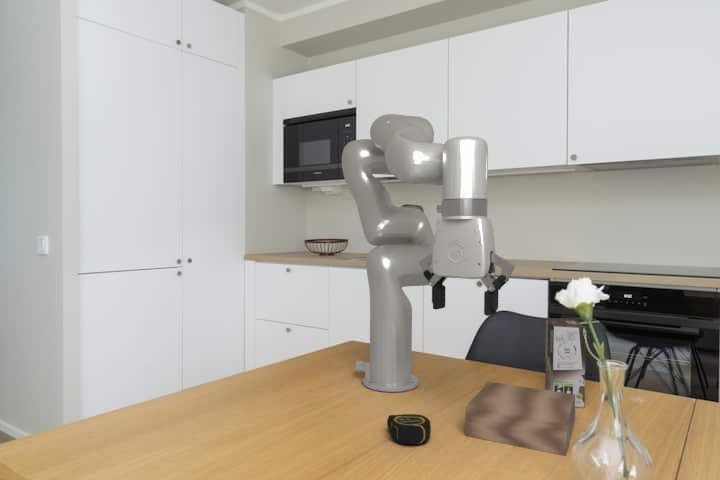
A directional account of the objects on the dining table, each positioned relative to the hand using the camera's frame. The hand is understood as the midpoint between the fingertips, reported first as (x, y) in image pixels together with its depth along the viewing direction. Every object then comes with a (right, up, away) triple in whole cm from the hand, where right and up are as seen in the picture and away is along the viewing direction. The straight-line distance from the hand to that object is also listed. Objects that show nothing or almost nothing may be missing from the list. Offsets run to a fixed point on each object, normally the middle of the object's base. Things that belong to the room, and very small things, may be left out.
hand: (463, 311), depth 86 cm
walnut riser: (+11, -21, +3) cm, 24 cm away
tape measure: (-10, -22, -1) cm, 24 cm away
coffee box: (+25, -21, +19) cm, 38 cm away
